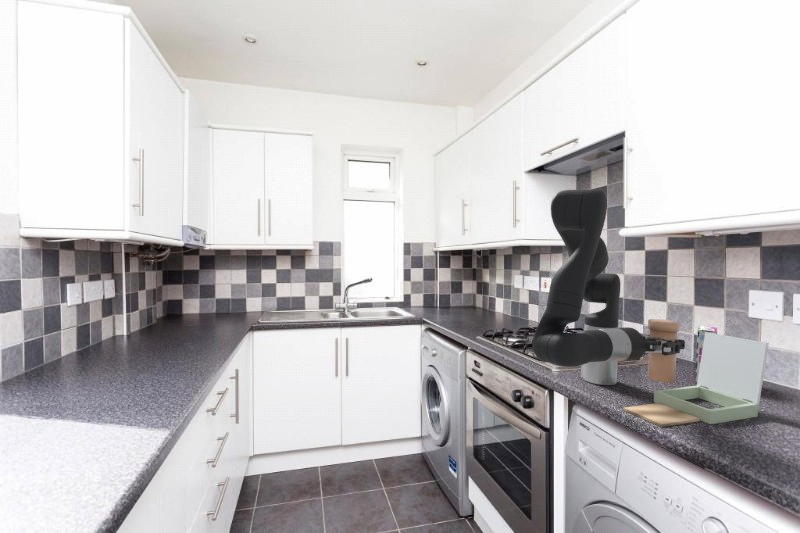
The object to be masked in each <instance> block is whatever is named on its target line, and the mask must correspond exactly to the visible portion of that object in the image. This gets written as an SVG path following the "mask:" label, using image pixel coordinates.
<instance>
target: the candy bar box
mask: <svg viewBox="0 0 800 533" xmlns="http://www.w3.org/2000/svg"><path fill="white" fill-rule="evenodd" d="M705 332H709V333H715V334H718V328H717V327H715V326H714V327H713V326H706V325H698V327H697V332H696V333H697V335H696V337H697V338H696V357H695V358H696V359H695V360H696V361H695V362H696V363H695V376H694V377H695V378H694V381H695V382H696V383H697V381H698V374H699V368H700V362H701V356H702V349H703V343H704V337H705Z"/></svg>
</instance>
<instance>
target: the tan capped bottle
mask: <svg viewBox="0 0 800 533" xmlns="http://www.w3.org/2000/svg"><path fill="white" fill-rule="evenodd" d="M680 325H681V324H680V322H679V321H675V320H670V319H669V320H668V319H659V318H658V319H656V318H652V319H650V318H649V319H648V320H647V329H649V335H650V337H661V338H664V339H665V340H670V339H672V340H676V339H678V332H680ZM656 341H657V345H658V340H656ZM666 343H667V342H666ZM676 371H677V354H672V355H666V356H665V355H662V353H648V371H647V372H648V373H647V378H648V379H649V380H652V381H656V382H660V383H667V384H668V383H669V384H671V383H673V384H674V383H676V375H677V374H676Z"/></svg>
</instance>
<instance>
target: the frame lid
mask: <svg viewBox="0 0 800 533" xmlns="http://www.w3.org/2000/svg"><path fill="white" fill-rule="evenodd" d="M768 349H769V343H768V342H766V341H759V340H753V339H747V338H742V337H735V336H730V335H725V334H720V333H719V334H718V333H717V334H715V333H709V332H705V337H704V343H703V349H702V356H701V362H700V368H699V374H698V381H697V382H696V386H700V387H703V388H706V389H710V390H713V391H716V392H719V393H723V394H726V395H729V396H732V397H735V398H739V399H742V400H744V401H747V402H751V403H755V404H758V405H760V401H761V394H762V388H763V381H764V374H765V369H766V364H767V355H768Z"/></svg>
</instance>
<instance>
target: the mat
mask: <svg viewBox="0 0 800 533" xmlns="http://www.w3.org/2000/svg"><path fill="white" fill-rule="evenodd" d="M623 411H625V412H627V413H629V414H631V415H634V416H636V417H638V418H640V419H643V420H646V421H647V422H649V423H651V424H653V425H655V426H658V427H660V428H665V427H670V426H675V425H676V426H677V425H684V424H690V423H696V422H700V421H701V420H700V418H697V417H695V416H692V415H690V414H687V413H685V412H682V411H679V410H677V409H674V408H672V407H669V406H666V405H664V404H661V403H655V402H653V403H647V404H640V405H632V406H625V407H623Z"/></svg>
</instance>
